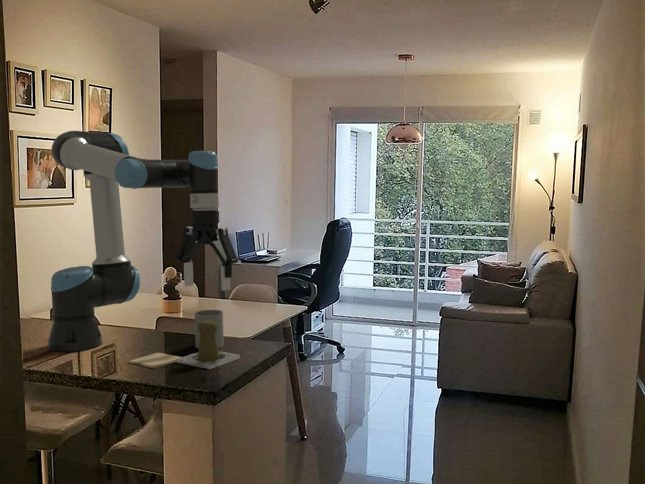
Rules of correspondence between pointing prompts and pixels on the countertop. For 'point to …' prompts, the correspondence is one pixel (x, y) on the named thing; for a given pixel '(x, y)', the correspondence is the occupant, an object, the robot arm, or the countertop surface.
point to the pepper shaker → (208, 341)
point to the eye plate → (210, 364)
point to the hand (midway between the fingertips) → (207, 287)
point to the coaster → (155, 360)
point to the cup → (213, 316)
